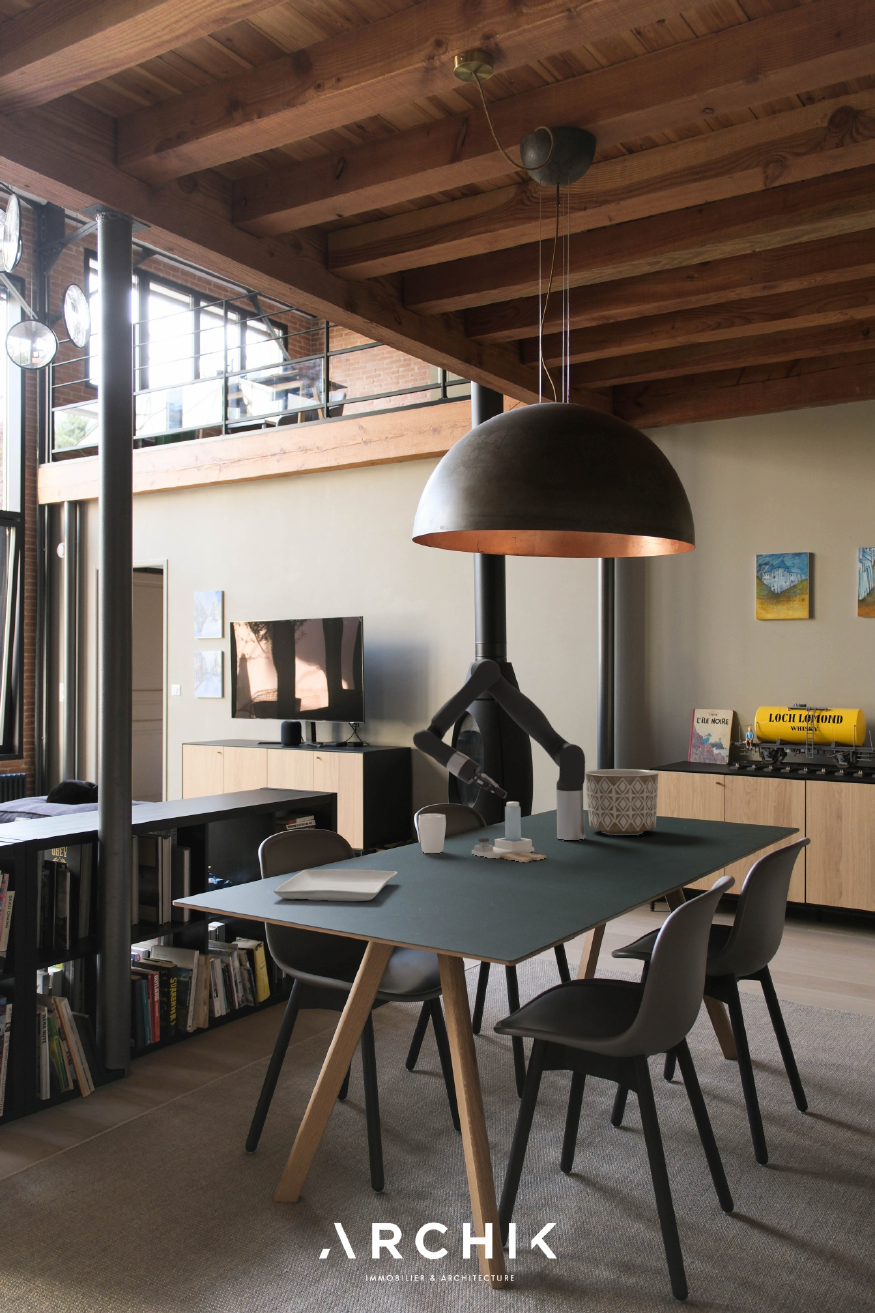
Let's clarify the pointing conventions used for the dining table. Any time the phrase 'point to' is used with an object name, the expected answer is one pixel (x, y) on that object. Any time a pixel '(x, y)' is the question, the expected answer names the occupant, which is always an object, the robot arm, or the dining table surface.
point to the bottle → (512, 822)
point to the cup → (432, 832)
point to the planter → (622, 800)
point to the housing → (503, 848)
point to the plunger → (483, 841)
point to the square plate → (335, 884)
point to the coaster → (523, 856)
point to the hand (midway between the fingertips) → (505, 796)
